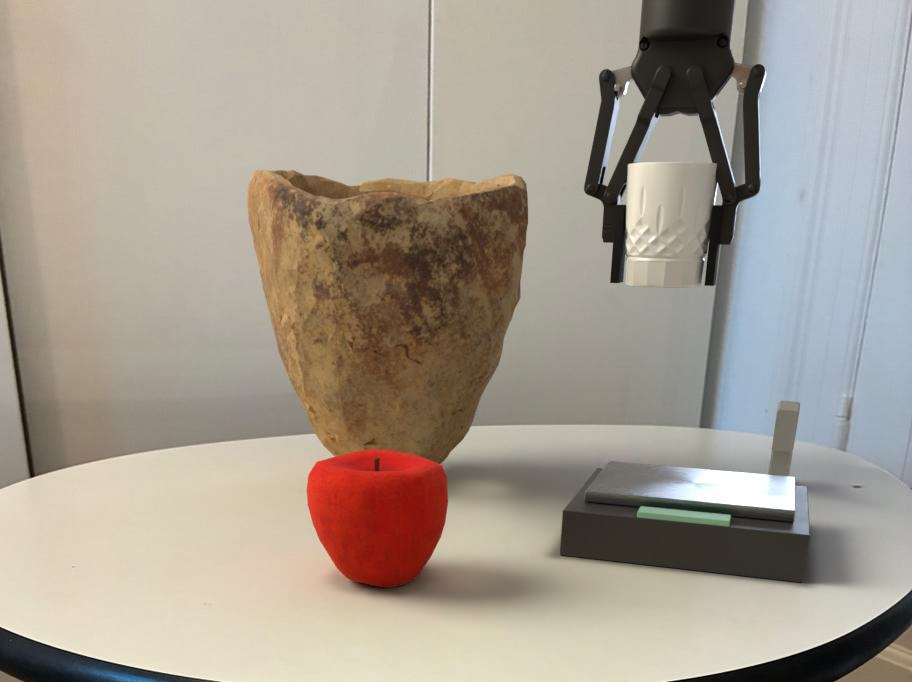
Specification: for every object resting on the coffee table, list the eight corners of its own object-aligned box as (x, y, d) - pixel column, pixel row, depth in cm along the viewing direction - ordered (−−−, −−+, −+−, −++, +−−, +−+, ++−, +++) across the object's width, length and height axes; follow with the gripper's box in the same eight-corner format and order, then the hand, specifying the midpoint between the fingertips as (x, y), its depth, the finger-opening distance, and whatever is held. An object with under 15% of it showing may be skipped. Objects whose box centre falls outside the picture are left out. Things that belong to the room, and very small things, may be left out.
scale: (801, 527, 79) (808, 481, 77) (802, 582, 66) (811, 529, 65) (594, 506, 83) (597, 462, 82) (559, 555, 71) (562, 504, 69)
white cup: (600, 285, 92) (608, 163, 89) (654, 283, 97) (664, 167, 94) (671, 290, 87) (683, 160, 83) (725, 287, 92) (739, 164, 88)
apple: (310, 556, 69) (306, 441, 66) (438, 555, 70) (441, 441, 67) (307, 602, 61) (304, 473, 58) (453, 600, 62) (457, 472, 59)
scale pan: (793, 487, 77) (795, 476, 77) (793, 522, 68) (795, 510, 67) (608, 470, 81) (608, 460, 80) (584, 501, 72) (584, 490, 71)
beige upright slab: (767, 479, 93) (780, 390, 90) (787, 481, 93) (801, 391, 90) (764, 497, 87) (778, 402, 84) (785, 499, 86) (800, 404, 83)
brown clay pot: (244, 509, 80) (225, 158, 71) (275, 450, 101) (263, 172, 92) (528, 511, 81) (548, 165, 72) (501, 452, 102) (513, 177, 92)
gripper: (556, -15, 83) (542, 282, 92) (823, -31, 77) (780, 289, 86) (575, 3, 90) (559, 278, 98) (821, -10, 84) (782, 285, 92)
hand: (662, 283), depth 92 cm, fingers closed on white cup, 8 cm apart
